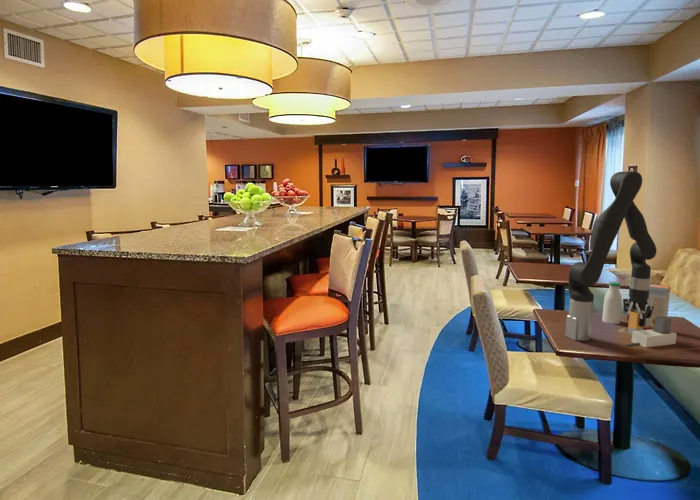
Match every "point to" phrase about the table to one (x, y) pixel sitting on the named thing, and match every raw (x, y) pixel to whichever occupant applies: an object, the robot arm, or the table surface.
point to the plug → (634, 322)
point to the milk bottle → (612, 304)
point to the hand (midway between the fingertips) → (635, 324)
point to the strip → (655, 334)
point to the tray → (625, 332)
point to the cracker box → (657, 304)
